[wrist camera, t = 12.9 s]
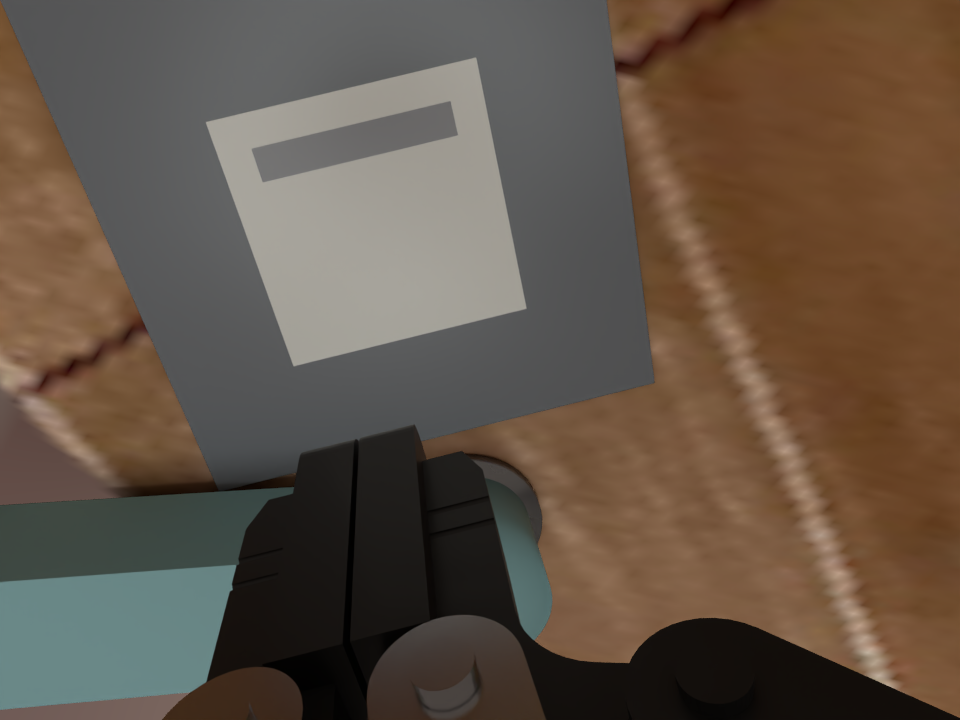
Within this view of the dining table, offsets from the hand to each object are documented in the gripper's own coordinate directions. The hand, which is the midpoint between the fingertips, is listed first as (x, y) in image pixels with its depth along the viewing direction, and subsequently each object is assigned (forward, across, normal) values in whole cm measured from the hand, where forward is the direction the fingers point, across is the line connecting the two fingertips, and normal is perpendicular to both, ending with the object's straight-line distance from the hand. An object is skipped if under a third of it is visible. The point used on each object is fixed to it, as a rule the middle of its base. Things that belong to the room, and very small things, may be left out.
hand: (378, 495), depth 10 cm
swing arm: (+14, +7, +10) cm, 19 cm away
